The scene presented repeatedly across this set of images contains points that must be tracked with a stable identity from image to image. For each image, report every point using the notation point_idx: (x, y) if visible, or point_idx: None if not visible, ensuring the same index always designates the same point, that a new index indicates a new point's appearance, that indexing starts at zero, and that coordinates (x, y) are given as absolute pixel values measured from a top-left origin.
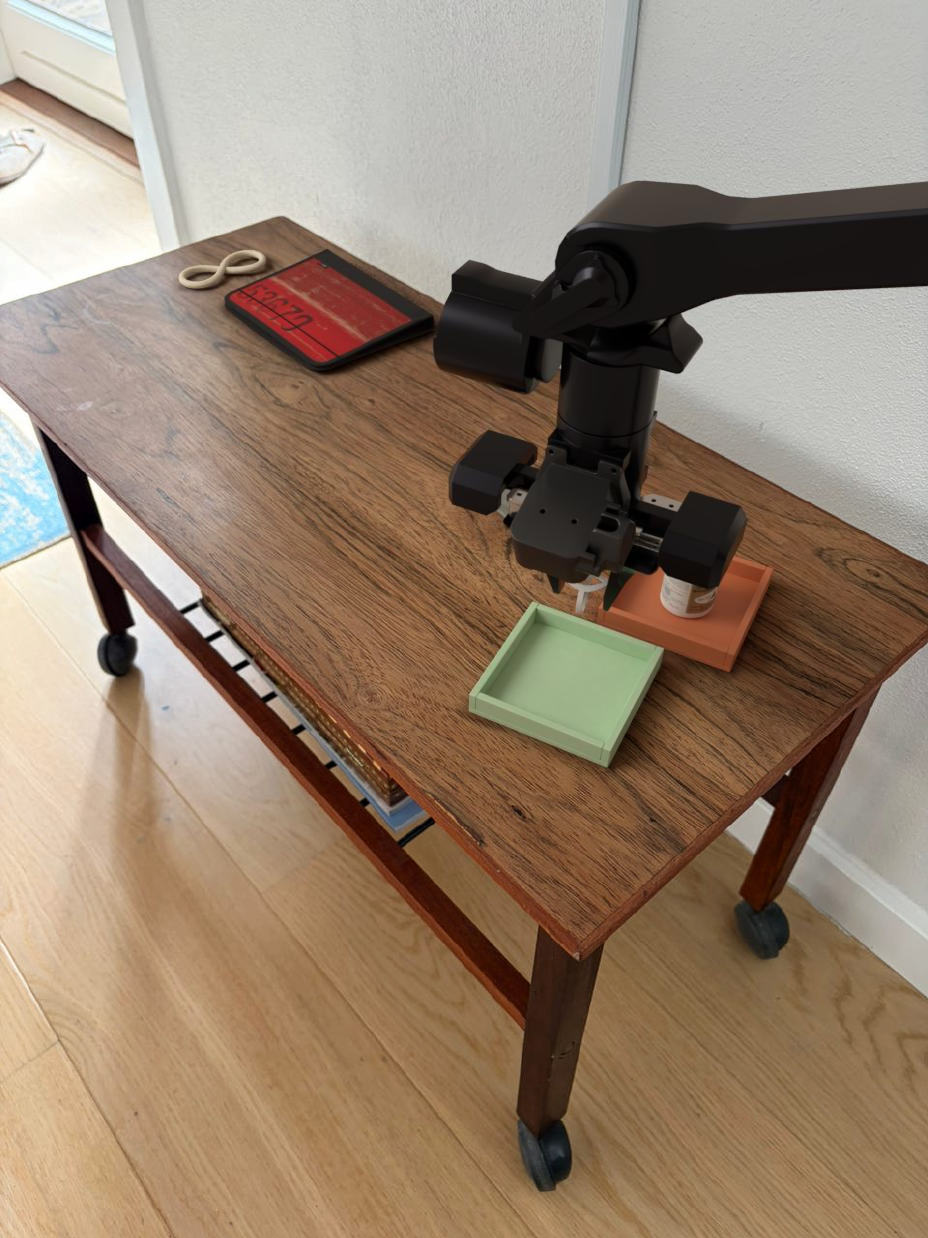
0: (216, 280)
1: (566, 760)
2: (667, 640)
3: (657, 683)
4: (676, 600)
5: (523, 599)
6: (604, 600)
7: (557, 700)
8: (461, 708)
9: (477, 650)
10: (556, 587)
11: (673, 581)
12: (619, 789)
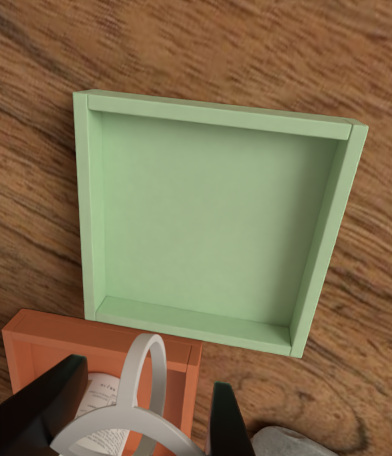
0: None
1: (158, 78)
2: (97, 334)
3: None
4: (100, 396)
5: (317, 360)
6: (57, 385)
7: (208, 190)
8: (370, 122)
9: (369, 253)
10: (217, 402)
11: None
12: (61, 53)
